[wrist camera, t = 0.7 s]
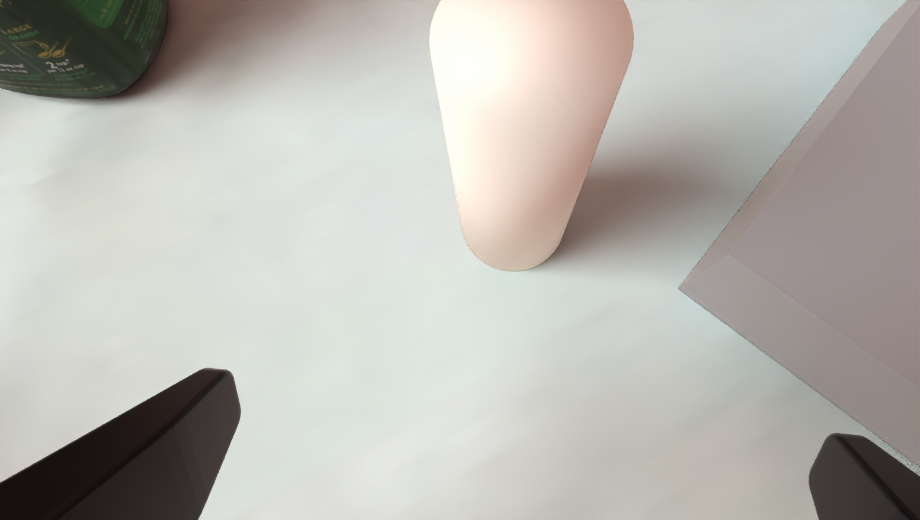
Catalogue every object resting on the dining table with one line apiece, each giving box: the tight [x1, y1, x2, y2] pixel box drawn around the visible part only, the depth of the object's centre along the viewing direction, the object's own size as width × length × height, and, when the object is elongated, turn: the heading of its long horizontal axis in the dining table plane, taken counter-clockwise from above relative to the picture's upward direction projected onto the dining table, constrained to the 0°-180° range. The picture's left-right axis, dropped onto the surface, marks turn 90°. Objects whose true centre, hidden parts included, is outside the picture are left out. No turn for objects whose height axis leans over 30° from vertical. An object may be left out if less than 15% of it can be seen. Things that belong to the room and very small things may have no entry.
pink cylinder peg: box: [429, 0, 634, 271], centre depth 18 cm, size 4×4×12 cm
